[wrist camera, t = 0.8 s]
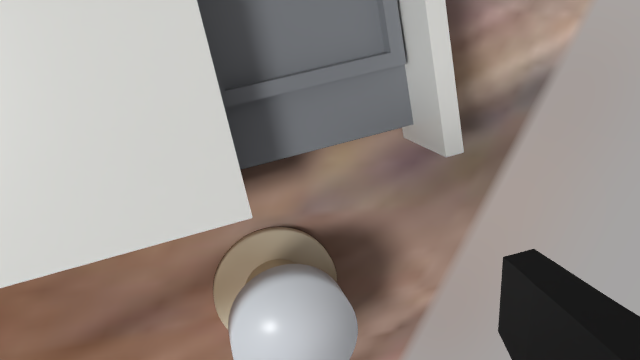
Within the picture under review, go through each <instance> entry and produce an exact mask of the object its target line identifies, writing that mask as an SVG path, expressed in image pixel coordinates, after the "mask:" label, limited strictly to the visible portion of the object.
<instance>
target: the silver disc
mask: <svg viewBox="0 0 640 360" xmlns="http://www.w3.org/2000/svg"><path fill="white" fill-rule="evenodd" d="M228 331H229V337H230V343H231V348H232V354H233V358H234V360H349V359H350V357H351V355H352V353H353V351H354V348H355V345H356V341H357V335H358V325H357V319H356V315H355V312H354V310H353V308H352V306H351V304H350V303H349V301H348V299H347V298H346V296H345V295H344V293H343V292H342V290H341V289H340V287H339V285H338V284H337V283H336V282H335V280H334V279H333V278H332V277H330V276H329V275H328V274H327V273H325V272H324V271H322V270H320V269H318V268H315V267H312V266H309V265H304V264H285V265H280V266H276V267H273V268H270V269H267V270H265V271H263V272H261V273H260V274H258V275H257V276H255V277H254V278H252V279H251V280H250V281H249V282H248V283H247V284H246V285H245V286H244V287H243V288H242V289H241V291H240V292H239V293H238V295H237V296H236V298H235V300H234V302H233V304H232V307H231V309H230V314H229V320H228Z"/></svg>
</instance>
